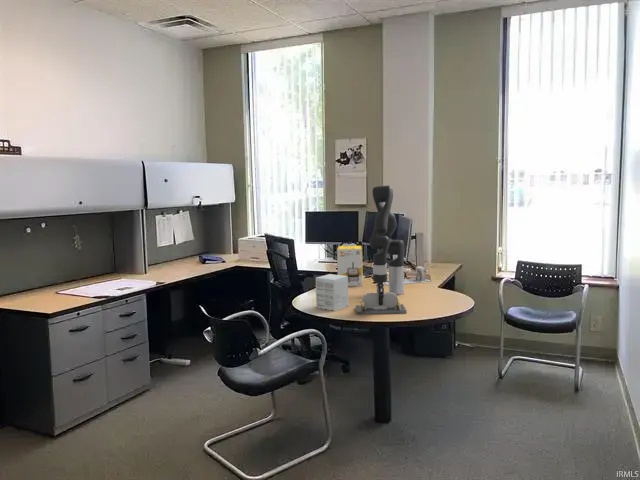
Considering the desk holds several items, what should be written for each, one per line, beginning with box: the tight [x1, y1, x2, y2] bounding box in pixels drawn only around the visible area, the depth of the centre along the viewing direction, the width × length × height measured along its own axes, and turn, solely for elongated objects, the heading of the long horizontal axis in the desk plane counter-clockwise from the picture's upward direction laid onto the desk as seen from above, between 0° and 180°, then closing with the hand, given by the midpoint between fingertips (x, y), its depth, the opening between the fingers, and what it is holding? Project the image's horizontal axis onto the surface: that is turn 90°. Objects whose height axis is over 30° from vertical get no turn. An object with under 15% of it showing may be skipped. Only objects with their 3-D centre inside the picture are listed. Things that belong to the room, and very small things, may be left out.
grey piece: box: [361, 291, 399, 308], centre depth 288 cm, size 20×2×8 cm, turn 89°
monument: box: [383, 266, 432, 287], centre depth 363 cm, size 12×33×10 cm, turn 113°
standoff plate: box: [355, 297, 407, 315], centre depth 288 cm, size 14×26×6 cm, turn 89°
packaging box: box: [336, 245, 364, 287], centre depth 362 cm, size 16×16×25 cm
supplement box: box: [315, 273, 349, 312], centre depth 298 cm, size 13×13×18 cm
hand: (380, 304), depth 288 cm, fingers open, 3 cm apart
